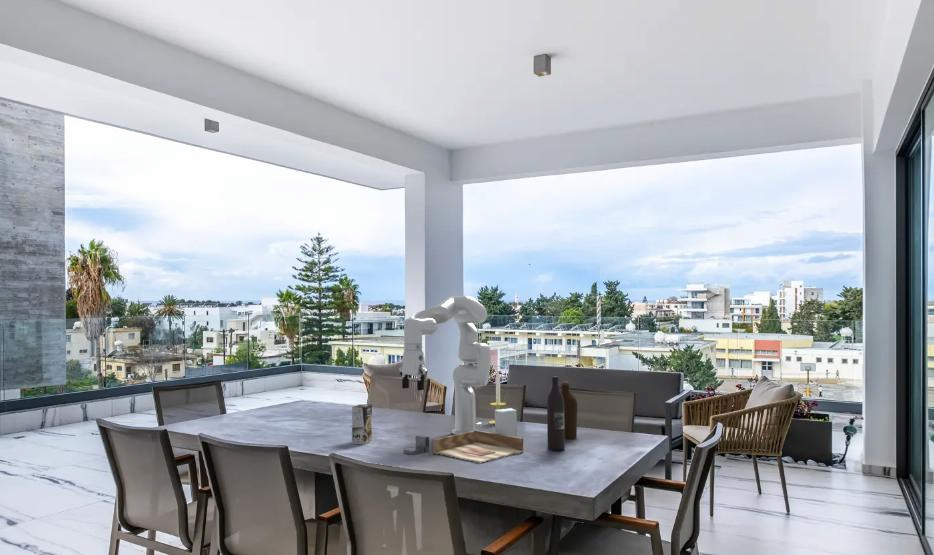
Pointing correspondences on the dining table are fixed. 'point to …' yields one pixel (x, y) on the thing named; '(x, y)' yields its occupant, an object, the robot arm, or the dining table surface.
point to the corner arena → (478, 446)
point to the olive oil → (569, 411)
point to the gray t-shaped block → (419, 445)
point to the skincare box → (506, 422)
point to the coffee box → (362, 424)
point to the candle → (497, 396)
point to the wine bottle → (555, 418)
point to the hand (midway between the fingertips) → (413, 389)
